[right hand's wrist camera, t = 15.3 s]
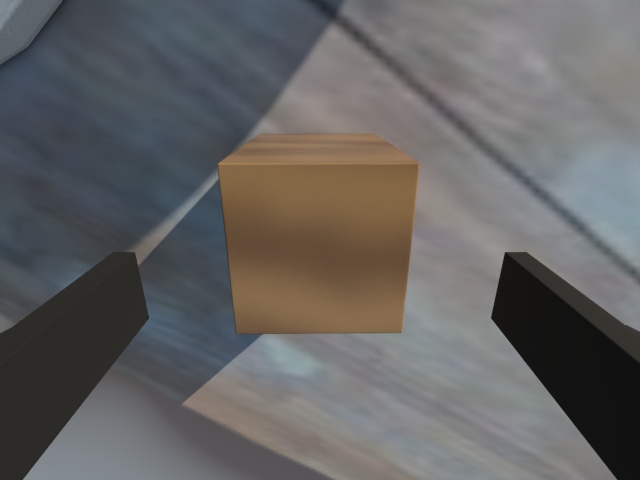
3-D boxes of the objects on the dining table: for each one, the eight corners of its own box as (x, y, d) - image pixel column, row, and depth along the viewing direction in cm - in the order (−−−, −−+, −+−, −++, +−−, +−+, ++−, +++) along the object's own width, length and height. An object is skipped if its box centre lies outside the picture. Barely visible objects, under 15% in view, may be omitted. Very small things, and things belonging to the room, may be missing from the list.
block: (369, 243, 26) (402, 333, 16) (266, 243, 26) (235, 334, 16) (375, 133, 23) (420, 162, 13) (259, 133, 23) (216, 163, 13)
